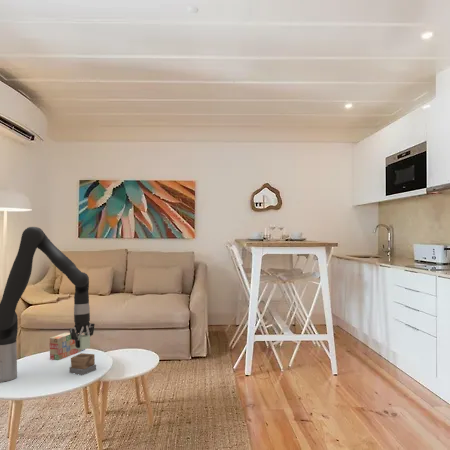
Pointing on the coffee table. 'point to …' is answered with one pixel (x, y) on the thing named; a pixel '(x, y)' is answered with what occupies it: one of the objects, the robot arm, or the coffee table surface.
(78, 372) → the charcoal slab
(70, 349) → the stack of blocks
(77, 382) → the coffee table surface
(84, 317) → the robot arm
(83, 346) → the sage block
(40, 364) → the coffee table surface
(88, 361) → the walnut block
